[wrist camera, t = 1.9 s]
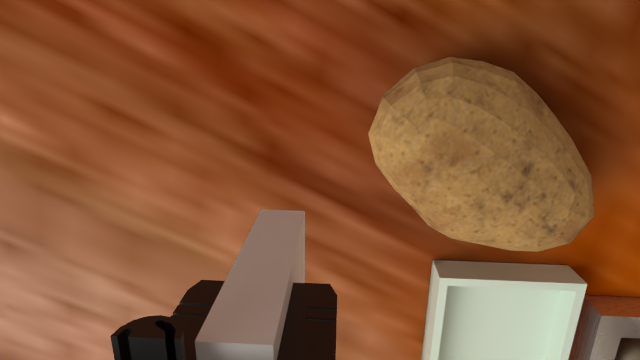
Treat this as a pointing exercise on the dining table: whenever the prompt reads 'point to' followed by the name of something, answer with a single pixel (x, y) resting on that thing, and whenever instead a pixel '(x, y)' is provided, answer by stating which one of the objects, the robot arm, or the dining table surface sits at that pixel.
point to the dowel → (628, 349)
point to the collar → (604, 326)
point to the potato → (482, 157)
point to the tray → (501, 311)
